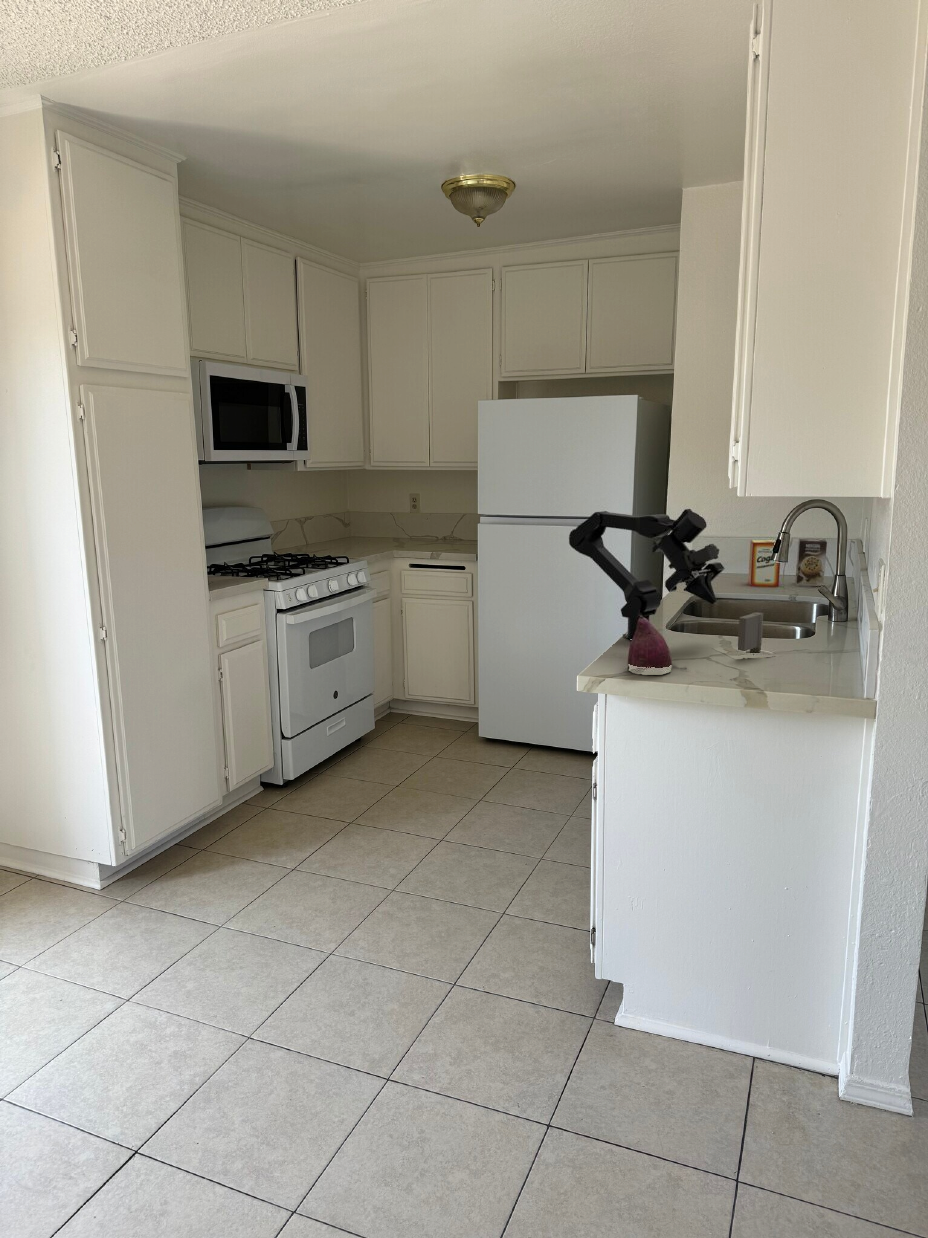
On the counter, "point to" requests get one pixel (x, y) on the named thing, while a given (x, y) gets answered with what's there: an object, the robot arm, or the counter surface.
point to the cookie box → (810, 562)
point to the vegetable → (648, 647)
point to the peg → (751, 633)
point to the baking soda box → (763, 565)
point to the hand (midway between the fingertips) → (714, 603)
